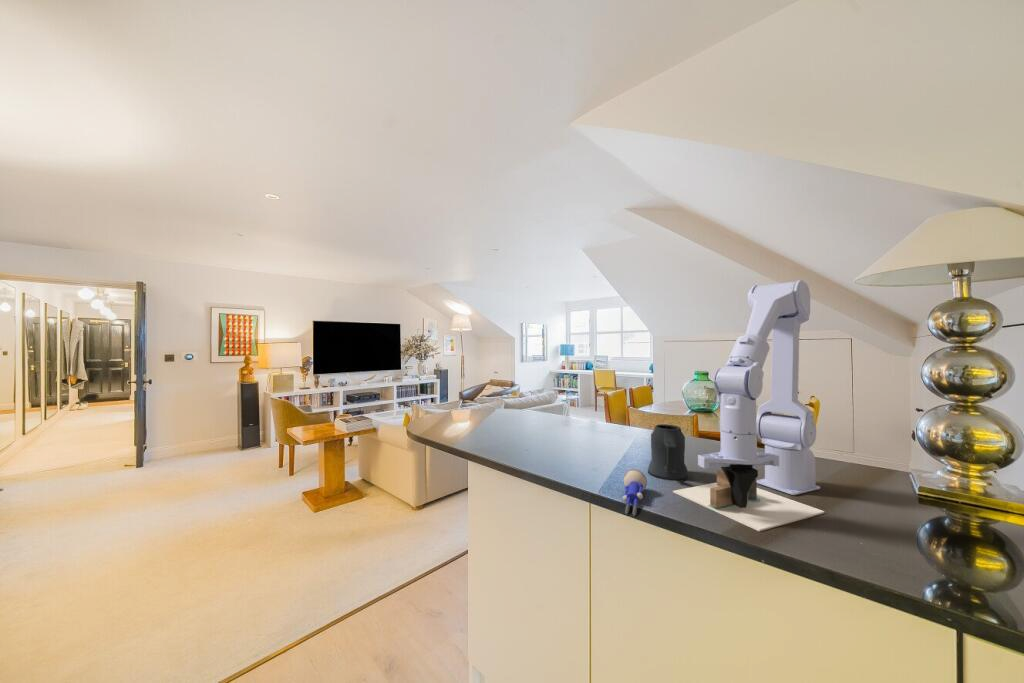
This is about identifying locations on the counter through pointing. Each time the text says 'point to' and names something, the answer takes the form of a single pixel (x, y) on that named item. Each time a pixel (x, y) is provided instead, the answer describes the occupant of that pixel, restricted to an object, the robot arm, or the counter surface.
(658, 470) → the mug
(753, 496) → the post and fixed rail
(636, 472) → the toy
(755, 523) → the mat
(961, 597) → the counter surface
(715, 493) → the swing panel
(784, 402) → the robot arm
